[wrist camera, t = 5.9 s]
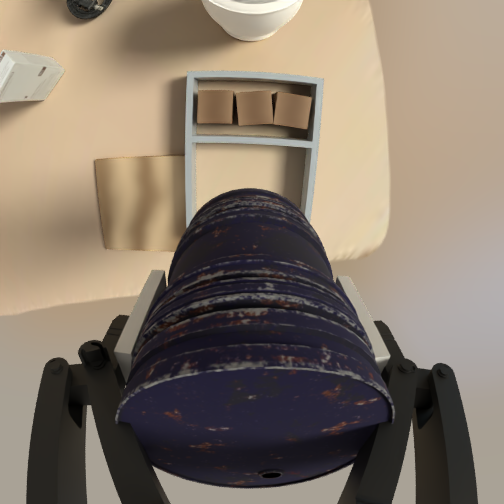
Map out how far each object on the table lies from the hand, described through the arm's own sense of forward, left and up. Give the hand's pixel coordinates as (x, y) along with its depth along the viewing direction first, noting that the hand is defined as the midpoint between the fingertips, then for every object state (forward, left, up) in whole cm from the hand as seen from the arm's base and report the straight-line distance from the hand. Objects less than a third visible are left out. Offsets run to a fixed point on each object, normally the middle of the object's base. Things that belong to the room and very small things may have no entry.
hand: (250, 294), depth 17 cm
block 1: (-4, +10, -25) cm, 28 cm away
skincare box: (-31, +18, -25) cm, 44 cm away
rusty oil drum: (0, 0, -5) cm, 5 cm away
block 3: (+5, +10, -25) cm, 28 cm away
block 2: (0, +10, -25) cm, 27 cm away
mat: (-15, -3, -25) cm, 29 cm away
